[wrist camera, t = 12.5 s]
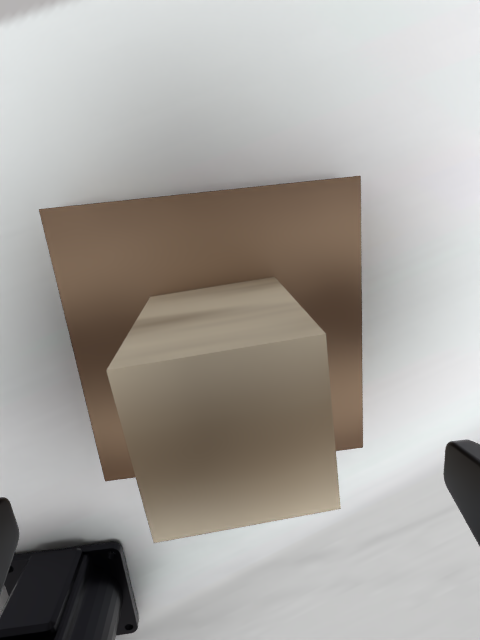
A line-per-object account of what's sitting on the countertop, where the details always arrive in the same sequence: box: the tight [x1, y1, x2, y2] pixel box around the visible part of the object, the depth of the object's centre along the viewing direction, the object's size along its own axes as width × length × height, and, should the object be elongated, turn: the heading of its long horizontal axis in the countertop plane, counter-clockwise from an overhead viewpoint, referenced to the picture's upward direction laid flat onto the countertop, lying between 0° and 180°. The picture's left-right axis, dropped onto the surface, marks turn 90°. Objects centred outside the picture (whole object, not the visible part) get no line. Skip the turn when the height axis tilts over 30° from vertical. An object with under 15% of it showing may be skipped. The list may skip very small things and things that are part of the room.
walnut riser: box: [39, 176, 363, 481], centre depth 18 cm, size 12×12×3 cm
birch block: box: [106, 277, 341, 543], centre depth 13 cm, size 5×5×7 cm
